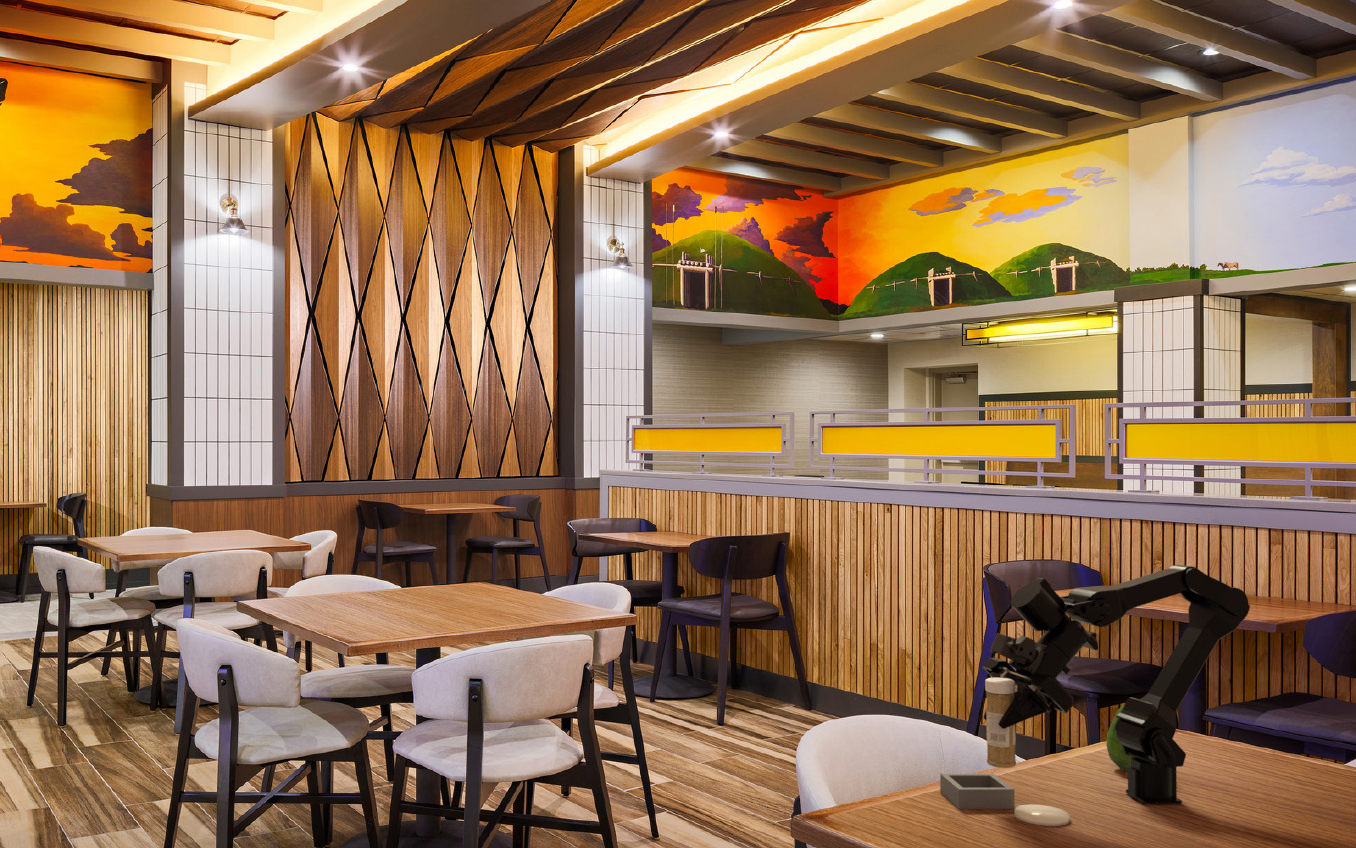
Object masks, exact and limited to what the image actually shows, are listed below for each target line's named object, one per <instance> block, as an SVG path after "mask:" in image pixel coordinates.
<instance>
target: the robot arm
mask: <svg viewBox="0 0 1356 848" xmlns="http://www.w3.org/2000/svg"><path fill="white" fill-rule="evenodd" d="M1177 594H1179V595H1180V596H1181V598H1182V599H1184V600H1185V601H1187V602H1188V603H1190V604H1189V606H1188V609H1187V611H1188V612H1187V613H1188V626H1187V627H1186V629H1185V630H1184V632H1183V634H1182V636H1181V638H1180V639H1179V641H1178V642H1177V644H1176V646H1175V647H1174V649H1173V650H1172V652H1171V654H1170V656H1169V658H1168V659H1167V661H1166V662H1165V664H1164V666H1163V667H1162V669H1161V671H1160V673H1159V674H1158V676H1157V677H1156V679H1155V680H1154V682H1153V684H1152V685H1151V687H1150V688H1149V691H1148V692H1147V694H1145V695H1144V696H1142V697H1141V698H1139V699H1138V698H1135V697H1129V696H1128V698H1127V699H1126V701H1125V702H1124V704H1123V705H1124V707H1123V709H1122V711H1121V712H1120V713H1119V714H1117V715H1116V714H1115V715H1116V717H1117V718H1119V719H1118V720H1117V723H1116V725H1115V730H1116V734H1117V738H1118V740H1119V741H1120V743H1121V744H1122V747H1123V750H1124V753H1125V755H1129V756H1132V757H1135V758H1130V764H1131V767H1129V768H1128V771H1127V789H1125V793H1126V794H1128V795H1129V796H1131V797H1132V798H1134V799H1135V800H1137V801H1139V802H1141V803H1143V804H1145V805H1146V804H1147V805H1148V804H1153V805H1154V804H1159V805H1160V804H1162V805H1163V804H1167V805H1168V804H1171V805H1173V804H1175V805H1176V804H1178V805H1179V804H1183V799H1180V798H1179V797H1177V796H1178V795H1177V788H1178V786H1177V767H1183V766H1184V763H1185V759H1186V757H1187V753H1186V752H1185V751H1184V749H1182V748H1181V747H1180V746H1179V744H1178V743H1177V742H1176V741H1175V740H1174V736H1175V734H1176V731H1177V714H1176V713H1177V710H1178V708H1179V707H1180V705H1181V703H1182V702H1183V700H1184V698H1185V697H1186V695H1187V694H1188V692H1189V690H1190V688H1191V686H1192V685H1193V683H1194V682H1195V680H1196V678H1197V676H1198V675H1199V674H1200V672H1201V670H1202V668H1203V666H1205V665H1204V664H1206V662H1207V660H1208V658H1209V656H1210V655H1211V653H1212V651H1213V649H1214V648H1215V646H1216V644H1218V642H1219V641H1220V640H1221V639H1222V638H1224V637H1226V636H1227V635H1229V634H1230V633H1232V632H1234V631H1235V630H1237V628H1238V627H1239V626H1240V624H1242V622H1244V620H1245V619H1246V617H1247V616H1248V614H1249V612H1250V610H1251V609H1250V608H1251V605H1250V604H1249V598H1248V596H1247V594H1246V593H1245V592H1244V590H1242V589H1240V588H1238V587H1234V586H1233V587H1232V586H1230V585H1229V584H1226V583H1225V582H1223V581H1220V580H1218V579H1216V578H1213V577H1212V576H1211V575H1210V576H1209V575H1207V573H1204V572H1203V571H1202V570H1200V569H1199V568H1197V567H1196V566H1191V565H1184V564H1183V565H1182V564H1174V565H1171V566H1169V567H1168V568H1165V569H1163V570H1159V571H1156V572H1153V573H1149V574H1147V575H1143V576H1140V577H1136V578H1134V579H1133V578H1132V579H1131V580H1127V581H1123V582H1120V583H1118V584H1114V585H1113V584H1112V585H1097V586H1096V585H1094V586H1085V587H1084V586H1083V587H1075V588H1074V589H1072V590H1070V592H1069V593H1068V594H1067V595H1063V596H1060V595H1059V594H1058V593H1057V592H1056V591H1055V590H1054V589H1053V588H1052V586H1051V584H1050V583H1049V582H1048V580H1047V579H1046V578H1041V577H1037V578H1036V579H1035V580H1034V581H1033V582H1030V583H1028V584H1026V585H1024V586H1023V587H1021V588H1020V589H1017V590H1016V591H1015V593H1014V594H1013V595H1012V597H1011V599H1010V605H1011V607H1012V608H1013V609H1014V610H1015V611H1016V612H1017V613H1018V614H1019V615H1020V617H1021V618H1022V619H1023V620H1024V621H1025V622H1026V623H1027V624H1028V625H1029V626H1030V628H1032V629H1033V630H1034V631H1036V632H1042V631H1043V632H1044V633H1043V634H1042V635H1041V637H1040V638H1039V639H1038V640H1037V641H1035V639H1033V638H1030V637H1028V636H1026V635H1020V636H1019V637H1018V638H1017V639H1016V638H1014V637H1011V636H1010V635H1009V636H1008V635H1007V634H1006V635H1005V634H1002V633H999V632H997V633H996V635H995V636H994V639H993V643H992V645H991V647H990V650H989V651H990V653H993V654H998V655H1000V656H1001V657H1004V658H1006V659H1008V660H1009V661H1006V660H1004V659H1001V658H999V657H989V658H988V659H986V661H985V663H984V664H983V665H982V668H983V670H984V671H986V672H987V674H989V676H990V678H1008V679H1012V680H1014V681H1015V693H1014V694H1015V695H1014V700H1013V702H1012V703H1011V705H1010V706H1009V708H1008V709H1007V711H1006V712H1005V713H1004V715H1003V716H1002V718H1001V720H1000V722H999V723H998V725H999V726H1000V727H1001V728H1002V729H1005V728H1007V727H1010V726H1012V725H1014V724H1015V725H1016V724H1019V723H1022V722H1023V721H1026V720H1029V719H1031V718H1034V717H1037V716H1039V715H1042V714H1045V713H1051V712H1052V709H1051V708H1050V706H1051V704H1053V703H1054V704H1053V708H1054V710H1056V711H1057V712H1059V713H1062V714H1065V715H1067V713H1068V712H1069V711H1070V710H1071V708H1072V707H1073V706H1074V696H1073V694H1071V693H1070V691H1069V690H1068V689H1067V688H1066V687H1065V686H1064V685H1063V684H1062V683H1061V682H1060V681H1059V680H1058V679H1057V678H1058V677H1059V676H1060V674H1063V675H1068V674H1069V673H1070V671H1071V669H1070V668H1069V667H1068V665H1069V664H1070V663H1071V662H1072V660H1073V659H1074V658H1075V657H1076V656H1077V654H1078V653H1079V652H1080V651H1081V649H1082V648H1085V649H1090V650H1093V651H1098V650H1099V644H1098V640H1097V635H1098V634H1097V632H1094V631H1089V630H1087V629H1086V628H1085V626H1083V625H1082V624H1085V625H1089V626H1095V627H1099V628H1104V627H1108V626H1109V625H1111V624H1113V623H1115V622H1116V621H1118V620H1121V619H1122V618H1123V617H1125V615H1126V614H1127V612H1129V611H1130V610H1132V609H1133V610H1134V608H1137V607H1138V608H1139V607H1141V606H1144V605H1147V604H1150V603H1153V602H1156V601H1160V600H1163V599H1165V598H1169V597H1173V596H1175V595H1177ZM986 710H987V708H986V709H985V712H984V715H983V720H984V721H986V722H987V718H986Z"/></svg>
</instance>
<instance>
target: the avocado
mask: <svg viewBox="0 0 1356 848" xmlns="http://www.w3.org/2000/svg"><path fill="white" fill-rule="evenodd" d="M1124 705H1125V704H1123V705H1122V706H1120V708H1118V709H1117V711H1116V713H1115V715H1114V717H1113V719H1112V722H1111V724H1110V726H1109V728H1108V731H1107V734H1106V743H1105V745H1106V748H1107V753H1108V757H1109V759H1110V760H1111V762H1113V763H1114V764H1115V765H1116V766H1117V767H1118V768H1119V769H1120V770H1122V771H1125V772H1128V768H1129V767H1131V764H1130V758H1135V757H1132V756H1129V755H1125V753H1124V750H1123V747H1122V744H1121V743H1120V741H1119V740H1118V738H1117V734H1116V730H1115V725H1116V723H1117V720H1118V719H1119V718H1117V717H1116V715H1117V714H1119V713H1120V712H1121V711H1122V709H1123V707H1124Z"/></svg>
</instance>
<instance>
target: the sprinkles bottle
mask: <svg viewBox="0 0 1356 848" xmlns="http://www.w3.org/2000/svg"><path fill="white" fill-rule="evenodd" d="M984 681H985V684H984V686H985V687H984V690H985V691H986V692H985V695H986V709H987V710H986V709H985V711H986V718H987V721H986V745H987V749H986V752H987V759H986V763H987V764H988V765H989V766H990V767H994V768H998V769H1009V768H1014V767H1016V765H1017V760H1016V742H1017V741H1016V724H1014V725H1012V726H1010V727H1007V728H1005V729H1002V728H1001V727H1000V726H999V725H998V723H999V722H1000V720H1001V718H1002V716H1003V715H1004V713H1005V712H1006V711H1007V709H1008V708H1009V706H1010V705H1011V703H1012V702H1013V700H1014V695H1015V694H1014V693H1015V681H1014V680H1012V679H1008V678H992V677H988V678H986V679H985V680H984Z"/></svg>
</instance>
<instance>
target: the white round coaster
mask: <svg viewBox="0 0 1356 848" xmlns="http://www.w3.org/2000/svg"><path fill="white" fill-rule="evenodd" d="M1070 816H1071V815H1070V814H1069V812H1067V811H1066V810H1064V809H1061V808H1059V807H1055V806H1052V805H1051V806H1050V805H1045V804H1021V805H1018V806H1016V807H1015V809H1014V817H1015V818H1016V819H1018V820H1019V821H1022V822H1025V823H1028V824H1031V825H1036V826H1042V827H1043V826H1045V827H1061V826H1066V825H1068V824H1069V823H1070V822H1071V821H1070V818H1071V817H1070Z"/></svg>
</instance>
